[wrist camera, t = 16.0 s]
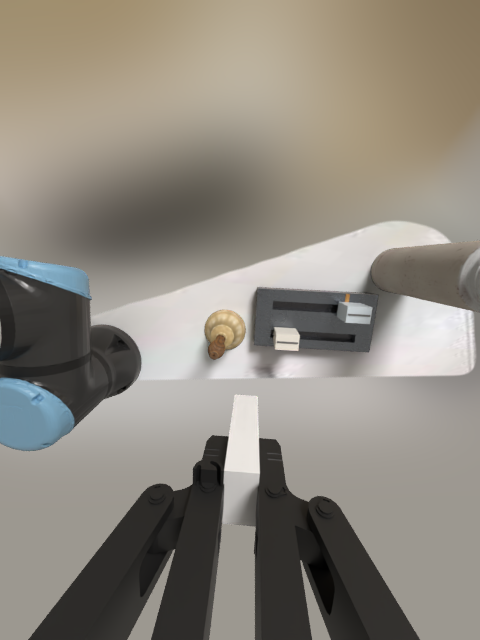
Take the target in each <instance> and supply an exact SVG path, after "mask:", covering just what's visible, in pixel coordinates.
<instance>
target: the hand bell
mask: <svg viewBox="0 0 480 640" xmlns="http://www.w3.org/2000/svg"><path fill="white" fill-rule="evenodd" d="M245 332H246V328H245V324H244V321H243V320H242V318H241V317H240V316H239V315H238V314H237V313H235V312H233V311H230V310H220V311H217V312H215V313H213V314H212V315H211V316H210V317H209V318H208V319H207V321H206V324H205V335H206V337H207V339H208V341H209V342H210V345H209V347H208V353H209V356H210V358H211V359H213V360H215V359H218V358H220V357H221V356H222V355H223V354H224V351H225V350H228V349H232V348H235V347H237V346H238V345H239V344H240V343H241V342H242V341H243V339H244V337H245Z"/></svg>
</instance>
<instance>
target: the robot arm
mask: <svg viewBox="0 0 480 640" xmlns="http://www.w3.org/2000/svg"><path fill="white" fill-rule="evenodd" d="M90 300H92V298H91V296H90V291H89V279H88V276H87V275H86V273H85V272H84V271H82V270H81V269H79V268H75V267H68V266H62V265H55V264H49V263H41V262H36V261H29V260H22V259H16V258H9V257H3V256H0V443H1V444H3V445H5V446H7V447H10V448H13V449H17V450H22V451H36V450H41V449H44V448H47V447H49V446H51V445H53V444H54V443H55V442H57V441H58V440H59V439H60V438H61V437H63V436H64V435H66V434H68V433H69V432H70V431H71V430H72V429H73V428H74V427H75V426H76V425H77V424H78V423H79V422H80V421H81V420H82V419H83V418H84V417H85V416H87V415H88V414H89V413H90V412H91V411H92V410H93V409H94V408H95V407H96V406H97V405H98V404H99V403H100V402H101V401H102V400H103V399H105V398H109V397H112V396H115V395H117V394H120V393H122V392H123V391H125V390H126V389H128V388H129V387H130V386H131V385H132V384H133V383H134V382H135V380H136V379H137V377H138V375H139V373H140V370H141V356H140V352H139V349H138V347H137V345H136V344H135V342H134V341H133V340H132V338H131V337H130V336H129V335H128V334H126V333H125V332H124V331H122V330H120V329H118V328H116V327H113V326H109V325H95V326H91V321H90ZM258 428H259V427H258V396H247V395H235V398H234V405H233V411H232V419H231V426H230V433H229V437H227V436H214V435H212V436H211V437H210V438H209V439H208V440H207V443H206V446H205V450H204V455H203V458H202V460H201V461H199V462H198V463H196V464H195V466H194V468H193V484H192V485H191V486H189V487H187V488H185V489H182V490H177V491H173V490H172V488H171V487H170V486H168V485H166V484H156V485H153V486H150V487H149V488H147V489H146V490H145V491H144V492H143V493H142V494H141V496H140V497H139V498H138V500H137V501H136V502H135V504H134V505H133V506H132V507H131V509H130V510H129V511H128V512H127V514H126V515H125V517H124V518H123V519H122V520H121V521H120V523H119V524H118V525H117V527H116V528H115V529H114V530H113V532H112V533H111V534H110V536H109V537H108V538H107V539H106V541H105V542H104V543H103V545H102V546H101V547H100V548H99V550H98V551H97V552H96V554H95V555H94V556H93V557H92V559H91V560H90V561H89V563H88V564H87V565H86V566H85V568H84V569H83V570H82V571H81V573H80V574H79V575H78V577H77V578H76V579H75V581H74V582H73V583H72V584H71V586H70V587H69V588H68V590H67V591H66V592H65V593H64V595H63V596H62V597H61V599H60V600H59V601H58V602H57V604H56V605H55V606H54V607H53V609H52V610H51V611H50V612H49V614H48V615H47V616H46V618H45V619H44V620H43V621H42V623H41V624H40V625H39V627H38V628H37V629H36V630H35V632H34V633H33V634H32V636H31V637H30V638H29V639H28V640H127V639H128V637H129V635H130V633H131V631H132V629H133V627H134V625H135V623H136V621H137V620H138V617H139V616H140V614H141V611H142V610H143V608H144V606H145V604H146V602H147V600H148V598H149V596H150V594H151V592H152V590H153V589H154V587H155V584H156V583H157V581H158V579H159V577H160V575H161V573H162V571H163V569H164V567H165V565H166V563H167V561H168V559H169V558H170V556H171V554H172V551H173V549H175V553H174V557H173V561H172V564H171V568H170V571H169V576H168V579H167V583H166V586H165V590H164V594H163V597H162V601H161V605H160V609H159V612H158V616H157V620H156V623H155V627H154V631H153V634H152V638H151V640H209V635H210V627H211V618H212V609H213V601H214V592H215V584H216V574H217V567H218V557H219V549H220V541H221V526H222V523H224V524H235V525H247V526H256V532H255V545H254V546H255V547H254V554H255V640H312V636H311V630H310V623H309V617H308V610H307V603H306V597H305V590H304V585H303V577H302V570H301V564H300V560H302V562H303V566H304V569H305V571H306V574H307V577H308V579H309V582H310V585H311V587H312V590H313V593H314V595H315V598H316V601H317V603H318V606H319V609H320V612H321V614H322V617H323V620H324V622H325V625H326V627H327V630H328V633H329V635H330V638H331V640H420V639H419V637H418V636H417V634H416V632H415V631H414V629H413V628H412V626H411V624H410V623H409V621H408V620H407V618H406V616H405V614H404V613H403V611H402V609H401V608H400V606H399V604H398V603H397V601H396V599H395V598H394V596H393V595H392V593H391V591H390V590H389V588H388V586H387V585H386V583H385V581H384V580H383V578H382V576H381V575H380V573H379V572H378V570H377V568H376V567H375V565H374V563H373V562H372V560H371V558H370V557H369V555H368V553H367V552H366V550H365V548H364V547H363V545H362V543H361V542H360V540H359V539H358V537H357V535H356V534H355V532H354V530H353V529H352V527H351V525H350V524H349V522H348V520H347V519H346V517H345V515H344V514H343V512H342V511H341V509H340V507H339V506H338V505H337V504H336V503H335V502H334V501H332V500H331V499H329V498H326V497H323V496H317V497H314V498H312V499H311V500H310V501H309V502H307V501H304V500H302V499H300V498H298V497H296V496H294V495H293V494H292V493H291V492H290V491H289V489H288V488H287V486H286V482H285V474H284V467H283V461H282V455H281V447H280V445H279V443H278V442H277V441H276V440H274V439H262V438H259V431H258Z"/></svg>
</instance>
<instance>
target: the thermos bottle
mask: <svg viewBox="0 0 480 640" xmlns="http://www.w3.org/2000/svg"><path fill="white" fill-rule="evenodd" d="M371 277H372V280H373V282H374V284H375V285H376V286H377V287H378V288H380V289H381V290H384V291H387V292H392V293H396V294H401V295H406V296H410V297H414V298H418V299H423V300H427V301H431V302H436V303H440V304H445V305H449V306H453V307H458V308H462V309H466V310H471V311H476V312H480V241H471V242H459V243H448V244H437V245H426V246H415V247H404V248H393V249H389V250H386V251H384V252H382V253H381V254H380V255H379V256H378V257H377V258H376V259H375V261H374V263H373V265H372V268H371Z"/></svg>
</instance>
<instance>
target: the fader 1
mask: <svg viewBox="0 0 480 640" xmlns="http://www.w3.org/2000/svg"><path fill="white" fill-rule="evenodd" d="M299 339H300V335H299V333H298V332H297V330H296V328H282V327H274V336H273V343H274V347H275V350H290V351H298V349H299Z"/></svg>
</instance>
